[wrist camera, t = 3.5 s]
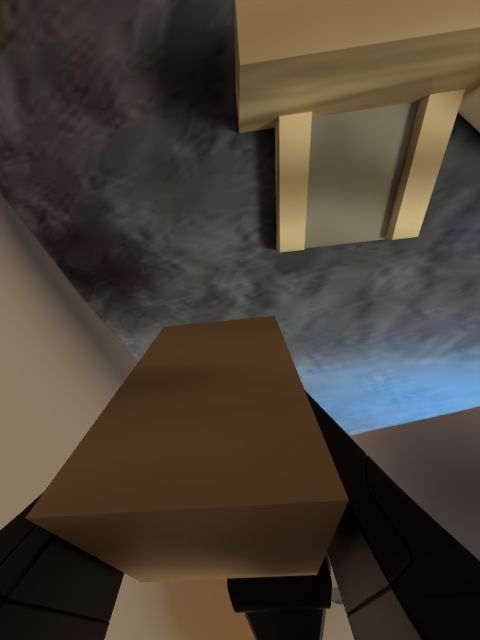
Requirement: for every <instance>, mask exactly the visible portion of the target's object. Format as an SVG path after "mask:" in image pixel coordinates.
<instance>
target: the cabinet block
mask: <svg viewBox="0 0 480 640" xmlns="http://www.w3.org/2000/svg"><path fill="white" fill-rule="evenodd" d="M348 501H349V499H348V497H347V494H346V492H345V489H344V487H343V485H342V482H341V480H340V477H339V475H338V472H337V470H336V467H335V465H334V462H333V460H332V457H331V455H330V452H329V450H328V447H327V445H326V442H325V440H324V437H323V435H322V432H321V430H320V427H319V425H318V422H317V420H316V417H315V415H314V412H313V410H312V408H311V405H310V403H309V400H308V398H307V395H306V393H305V390H304V388H303V385H302V383H301V380H300V378H299V375H298V373H297V370H296V368H295V365H294V363H293V360H292V358H291V355H290V353H289V350H288V348H287V345H286V343H285V340H284V338H283V336H282V333H281V331H280V328H279V326H278V323H277V321H276V318H275V316H270V317H260V318H250V319H240V320H230V321H220V322H210V323H200V324H190V325H180V326H169V327H164V328H163V329H162V330H161V332H160V333H159V335H158V336H157V337H156V339H155V340H154V341H153V343H152V344H151V346H150V347H149V348H148V350H147V351H146V352H145V354H144V355H143V357H142V358H141V359H140V361H139V362H138V363H137V365H136V367H135V368H134V369H133V370H132V372H131V373H130V374H129V376H128V377H127V379H126V380H125V381H124V383H123V384H122V386H121V387H120V388H119V390H118V391H117V392H116V394H115V395H114V397H113V398H112V399H111V401H110V402H109V403H108V405H107V406H106V408H105V409H104V410H103V412H102V413H101V414H100V416H99V417H98V419H97V420H96V421H95V423H94V424H93V425H92V427H91V428H90V430H89V431H88V432H87V434H86V435H85V436H84V438H83V439H82V441H81V442H80V443H79V445H78V446H77V448H76V449H75V450H74V452H73V453H72V454H71V456H70V457H69V458H68V460H67V461H66V463H65V464H64V465H63V467H62V468H61V469H60V471H59V472H58V474H57V475H56V476H55V478H54V479H53V480H52V482H51V483H50V485H49V486H48V487H47V489H46V490H45V492H44V493H43V494H42V496H41V497H40V498H39V500H38V501H37V503H36V504H35V505H34V507H33V508H32V509H31V511H30V512H29V514H28V515H27V516H26V519H27V520H29V521H31V522H33V523H35V524H36V525H38V526H40V527H42V528H44V529H46V530H47V531H49V532H51V533H53V534H55V535H56V536H58V537H60V538H62V539H64V540H66V541H67V542H69V543H71V544H73V545H75V546H76V547H78V548H80V549H82V550H84V551H86V552H87V553H89V554H91V555H93V556H95V557H96V558H98V559H100V560H102V561H104V562H105V563H107V564H109V565H111V566H113V567H115V568H116V569H118V570H120V571H122V572H124V573H125V574H127V575H129V576H131V577H133V578H135V579H136V580H138V581H140V582H148V581H149V582H150V581H173V580H174V581H175V580H200V579H224V578H251V577H276V576H301V575H317V574H318V571H319V569H320V567H321V564H322V562H323V560H324V557H325V555H326V552H327V550H328V548H329V545H330V543H331V541H332V538H333V536H334V534H335V531H336V529H337V526H338V524H339V522H340V519H341V517H342V515H343V512H344V510H345V508H346V505H347V503H348Z"/></svg>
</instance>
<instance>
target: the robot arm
mask: <svg viewBox="0 0 480 640" xmlns="http://www.w3.org/2000/svg"><path fill="white" fill-rule="evenodd" d="M305 393H306V395H307V398H308V400H309V403H310V405H311V408H312V410H313V412H314V415H315V417H316V420H317V422H318V425H319V427H320V430H321V432H322V435H323V437H324V440H325V442H326V445H327V447H328V450H329V452H330V455H331V457H332V460H333V462H334V465H335V467H336V470H337V472H338V475H339V477H340V480H341V482H342V485H343V487H344V489H345V492H346V494H347V497H348V499H349V501H348V503H347V505H346V508H345V510H344V512H343V515H342V517H341V519H340V522H339V524H338V526H337V529H336V531H335V534H334V536H333V538H332V541H331V543H330V545H329V548H328V550H327V552H326V555H325V557H324V560H323V562H322V564H321V567H320V569H319V571H318V574H317V575H301V576H276V577H251V578H227V587H228V592H229V595H230V599H231V602H232V606H233V609H234V611H235V612H236V613H245V616H246V618H247V620H248V623H249V625H250V628H251V630H252V632H253V634H254V637H255V639H256V640H322V637H323V630H324V622H325V613H326V609H329V608H330V606H331V592H332V581H331V576H330V574H331V568H330V563H331V566H332V569H333V572H334V575H335V578H336V581H337V585H338V588H339V591H340V595H341V598H342V601H343V604H344V607H345V610H346V613H347V614H348V615H347V617H348V620H349V624H350V627H351V630H352V633H353V636H354V639H355V640H480V561H479V560H478V559H477V558H476V557H475V556H474V555H473V554H472V553H471V552H470V551H469V550H467V549H466V548H465V547H464V546H463V545H462V544H461V543H460V542H459V541H458V540H456V539H455V538H454V537H453V536H452V535H451V534H450V533H449V532H448V531H446V530H445V529H444V528H443V527H442V526H441V525H440V524H439V523H438V522H437V521H435V520H434V519H433V518H432V517H431V516H430V515H429V514H428V513H427V512H426V511H424V510H423V509H422V508H421V507H420V506H419V505H418V504H417V503H416V502H415V501H413V499H412V498H410V497H409V496H408V495H407V494H406V493H405V492H404V491H403V490H402V489H401V488H400V487H399V486H398V485H397V484H396V483H395V482H394V481H393V480H392V479H391V478H390V477H389V476H388V475H387V474H386V473H385V472H384V471H383V470H382V469H381V468H380V467H379V466H378V465H377V464H376V463H375V462H374V461H373V460H372V459H371V458H370V457H369V456H366V453H365V452H364V451H363V450H362V449H361V448H360V447H359V446H358V445H357V444H356V443H355V442H354V441H353V440H352V439H351V438H350V436H349V435H348V434H347V433H346V432H345V431H344V430H343V429H342V428H341V427H340V426H339V425H338V424H337V423H336V422H335V421H334V420H333V419H332V418H331V417H330V416H329V415H328V414H327V413H326V412H325V411H324V410H323V409H322V408H321V407H320V406H319V404H318V403H317V402H316V401H315V400H314V399H313V398H312V397H311V396H310V395H309V394H308V393H307V392H306V391H305ZM44 492H45V491H44ZM44 492H43V493H44ZM43 493H42V494H43ZM42 494H41V495H40V496H39V497H38V498H37V499H35V500H34V501H33V502H32V503H31V504H30V505H29V506H28V507H27V508H25V509H24V510H23V511H22V512H21V513H20V514H19V515H17V516H16V517H15V518H14V519H13V520H12V521H11V522H9V523H8V524H7V525H6V526H5V527H4V528H2V529H1V530H0V640H104V639H105V636H106V632H107V628H108V626H109V620H110V618H111V615H112V612H113V609H114V605H115V602H116V599H117V595H118V592H119V589H120V585H121V582H122V579H123V576H124V572H122V571H120V570H118V569H116V568H115V567H113V566H111V565H109V564H107V563H105V562H104V561H102V560H100V559H98V558H96V557H95V556H93V555H91V554H89V553H87V552H86V551H84V550H82V549H80V548H78V547H76V546H75V545H73V544H71V543H69V542H67V541H66V540H64V539H62V538H60V537H58V536H56V535H55V534H53V533H51V532H49V531H47V530H46V529H44V528H42V527H40V526H38V525H36V524H35V523H33V522H31V521H29V520H27V519H26V516H27V515H28V514H29V512H30V511H31V509H32V508H33V507H34V505H35V504H36V503H37V501H38V500H39V498H40V497H41V496H42ZM327 553H328V554H327ZM328 556H329V558H328ZM329 559H330V562H329Z"/></svg>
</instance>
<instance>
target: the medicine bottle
mask: <svg viewBox="0 0 480 640" xmlns="http://www.w3.org/2000/svg"><path fill="white" fill-rule="evenodd" d="M458 113H459V114H460V115H461V116H462V117H463V118H464V119H465V120H466V121H467V122H469V123H470V124H471V125H472V126H473V127H474V128H475V129H476V130H477V131H478V132H479V133H480V87H478V88H477V89H475V90H473V91H471V92H470V93H468V94H466V95H464V96H463V97H462V101H461V104H460V107H459V110H458Z"/></svg>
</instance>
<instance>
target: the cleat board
mask: <svg viewBox="0 0 480 640" xmlns="http://www.w3.org/2000/svg"><path fill="white" fill-rule="evenodd" d="M234 13H235V72H236V99H237V112H238V124H239V133H243V132H250V131H257V130H264V129H271V128H275V168H276V250H277V251H279V252H288V251H297V250H304V248H312V247H321V246H329V245H338V244H347V243H356V242H364V241H373V240H382V239H391V240H393V239H402V238H411V237H418V235H419V232H420V228H421V225H422V222H423V219H424V216H425V213H426V210H427V207H428V203H429V200H430V197H431V194H432V191H433V188H434V185H435V182H436V179H437V175H438V172H439V169H440V166H441V163H442V160H443V157H444V154H445V150H446V147H447V144H448V141H449V138H450V135H451V132H452V129H453V126H454V122H455V119H456V116H457V113H458V110H459V107H460V104H461V101H462V97H463V96H464V95H466V94H468V93H470V92H471V91H473V90H475V89H477V88H478V87H480V0H234Z"/></svg>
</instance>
